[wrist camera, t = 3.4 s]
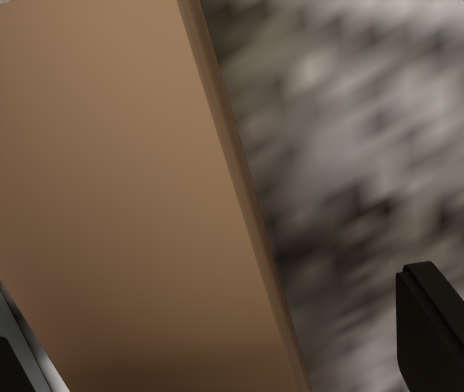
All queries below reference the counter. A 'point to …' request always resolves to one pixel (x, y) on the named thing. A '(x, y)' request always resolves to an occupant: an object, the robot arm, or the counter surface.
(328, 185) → the counter surface
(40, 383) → the board
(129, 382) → the brown rectangular block
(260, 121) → the counter surface
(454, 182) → the counter surface
